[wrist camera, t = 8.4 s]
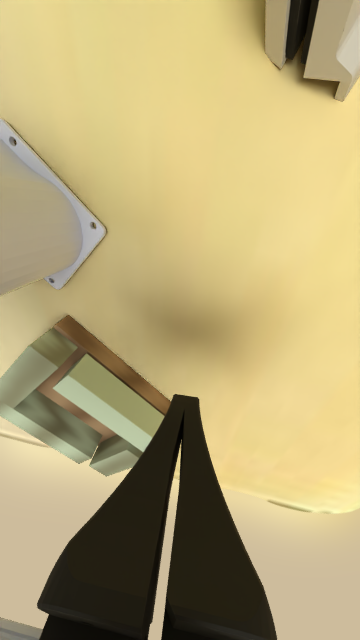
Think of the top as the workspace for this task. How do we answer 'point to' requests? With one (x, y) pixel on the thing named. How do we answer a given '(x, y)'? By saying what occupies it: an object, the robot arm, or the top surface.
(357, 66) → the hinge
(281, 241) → the top surface
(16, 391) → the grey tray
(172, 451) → the robot arm
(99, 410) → the hinged leg
